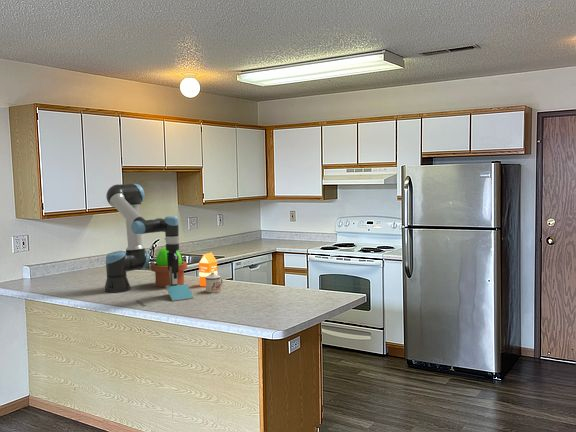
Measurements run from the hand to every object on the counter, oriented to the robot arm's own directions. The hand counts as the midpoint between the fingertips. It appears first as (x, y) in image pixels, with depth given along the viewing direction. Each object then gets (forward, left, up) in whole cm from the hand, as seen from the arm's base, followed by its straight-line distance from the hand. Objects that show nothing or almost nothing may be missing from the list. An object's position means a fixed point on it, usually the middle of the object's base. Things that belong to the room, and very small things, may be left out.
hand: (173, 283), depth 318 cm
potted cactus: (-32, +8, -8) cm, 34 cm away
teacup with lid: (+4, +24, -8) cm, 25 cm away
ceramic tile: (+10, 0, -4) cm, 11 cm away
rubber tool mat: (+9, -17, -7) cm, 21 cm away
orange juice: (-16, +28, -8) cm, 33 cm away
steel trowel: (+3, 0, -3) cm, 5 cm away
